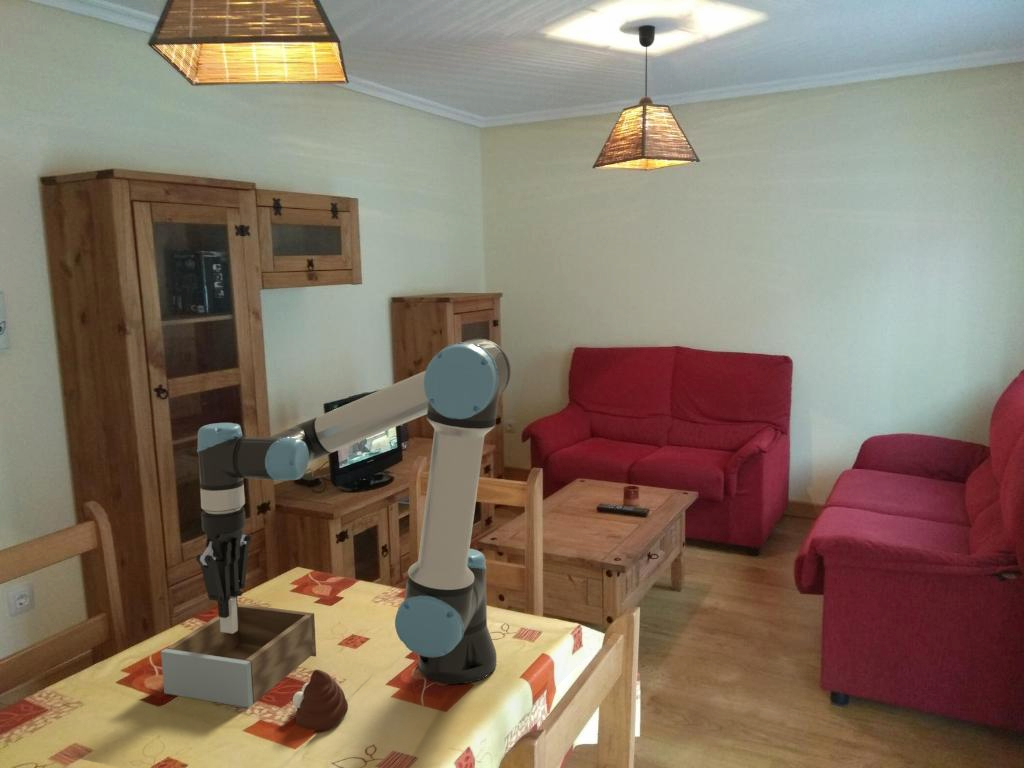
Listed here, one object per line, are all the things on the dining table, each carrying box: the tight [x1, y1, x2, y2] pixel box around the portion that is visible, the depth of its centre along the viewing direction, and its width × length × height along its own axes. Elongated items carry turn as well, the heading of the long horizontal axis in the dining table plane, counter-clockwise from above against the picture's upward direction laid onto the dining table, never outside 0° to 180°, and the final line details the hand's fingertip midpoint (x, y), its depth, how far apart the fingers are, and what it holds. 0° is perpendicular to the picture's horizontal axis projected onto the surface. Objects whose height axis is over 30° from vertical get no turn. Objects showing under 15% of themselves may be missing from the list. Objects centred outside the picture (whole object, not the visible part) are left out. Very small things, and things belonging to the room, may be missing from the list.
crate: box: [166, 603, 317, 705], centre depth 150 cm, size 20×18×9 cm
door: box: [160, 648, 254, 708], centre depth 140 cm, size 1×18×8 cm, turn 73°
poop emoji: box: [291, 669, 349, 734], centre depth 135 cm, size 10×8×9 cm
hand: (229, 630), depth 146 cm, fingers closed
